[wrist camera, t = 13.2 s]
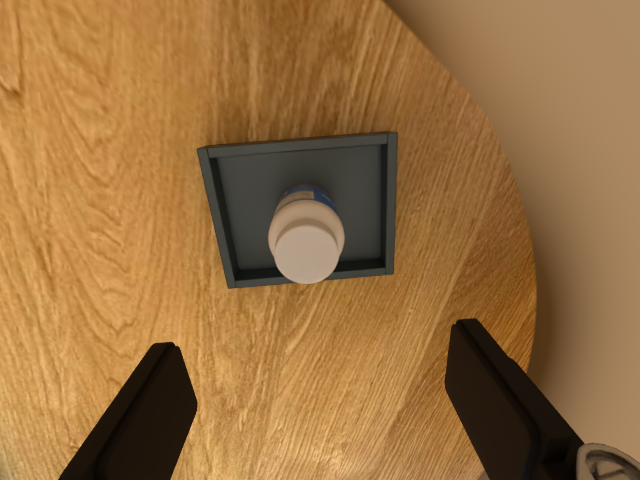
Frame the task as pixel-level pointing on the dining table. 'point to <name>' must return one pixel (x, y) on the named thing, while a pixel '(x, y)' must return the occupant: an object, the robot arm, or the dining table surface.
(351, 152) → the tray
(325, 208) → the pill bottle
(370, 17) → the dining table surface
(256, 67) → the dining table surface
